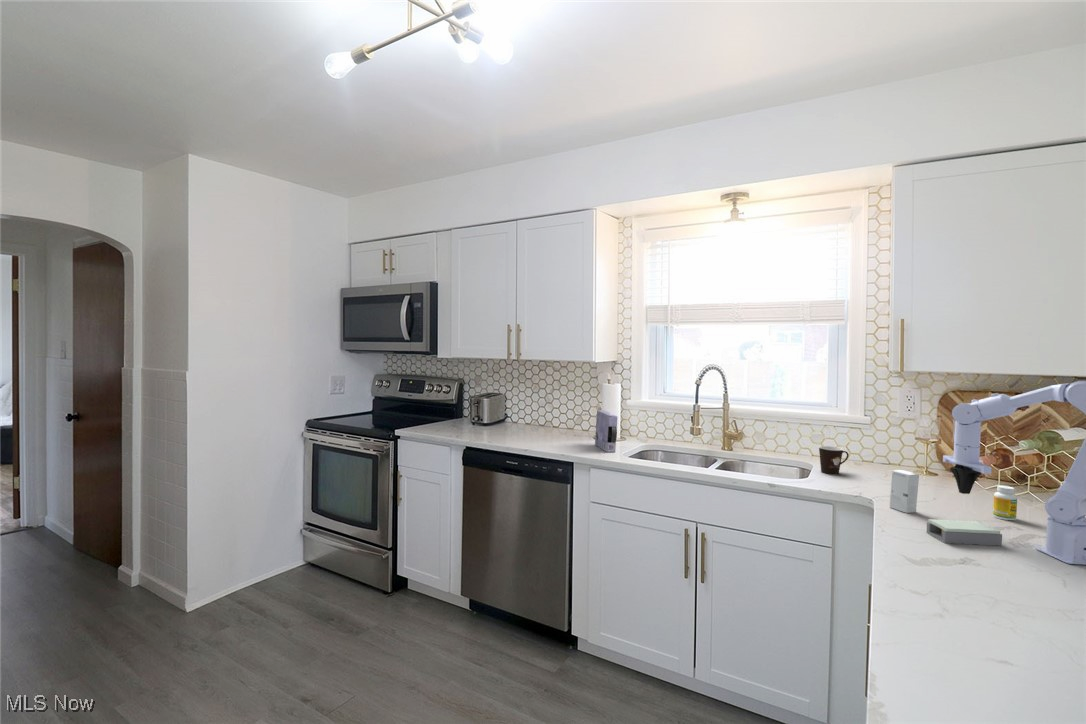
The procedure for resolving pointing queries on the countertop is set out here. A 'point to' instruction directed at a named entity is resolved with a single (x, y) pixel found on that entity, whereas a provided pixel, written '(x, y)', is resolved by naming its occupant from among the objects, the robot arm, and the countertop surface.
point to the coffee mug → (831, 459)
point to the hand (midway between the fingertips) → (964, 493)
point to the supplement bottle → (1005, 503)
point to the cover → (964, 526)
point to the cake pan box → (606, 431)
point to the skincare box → (904, 491)
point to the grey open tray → (964, 536)
